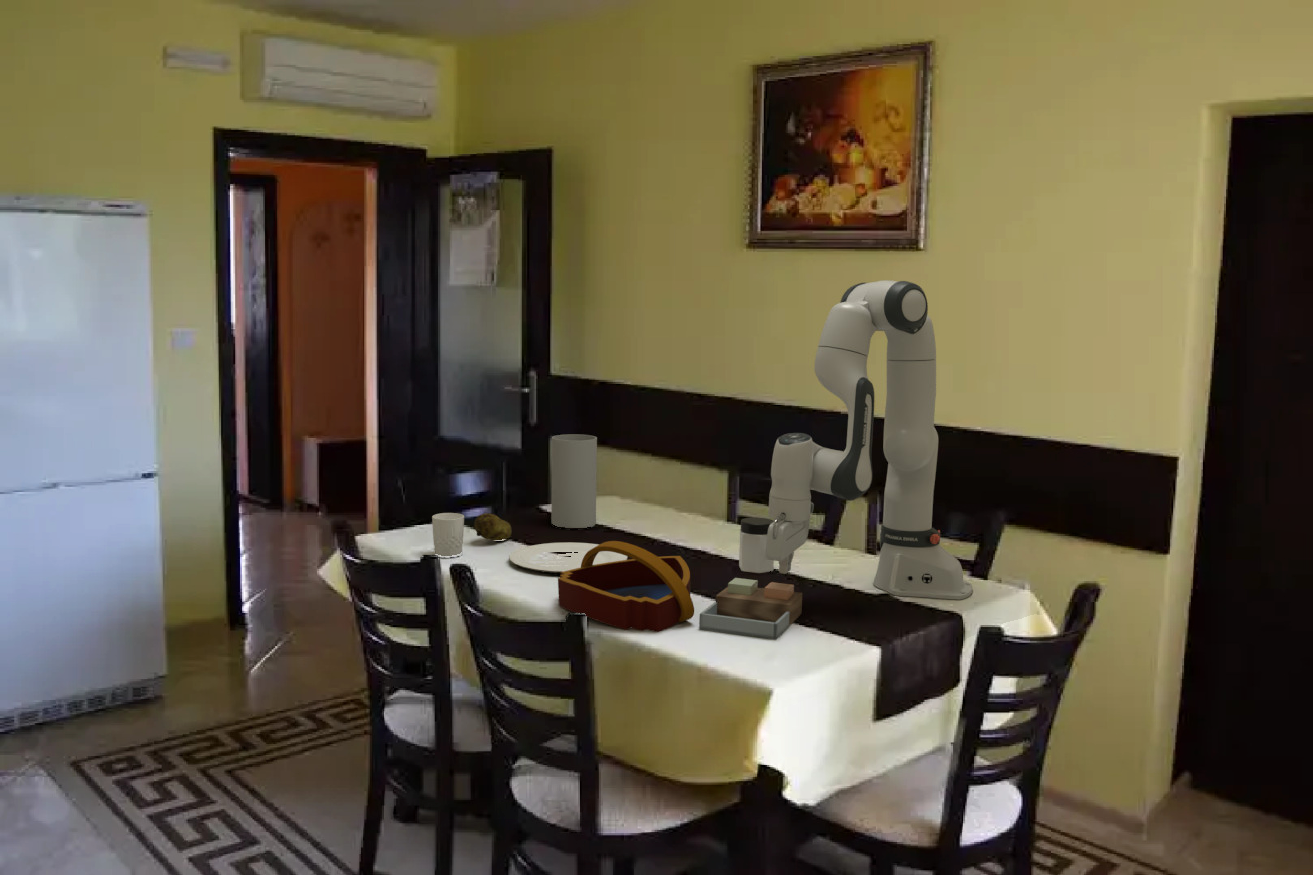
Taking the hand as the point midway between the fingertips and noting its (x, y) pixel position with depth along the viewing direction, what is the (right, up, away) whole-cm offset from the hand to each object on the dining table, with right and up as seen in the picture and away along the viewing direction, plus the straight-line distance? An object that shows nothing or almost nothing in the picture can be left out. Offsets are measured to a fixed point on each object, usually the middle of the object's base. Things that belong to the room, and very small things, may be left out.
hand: (784, 571), depth 256 cm
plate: (-49, -2, +37) cm, 62 cm away
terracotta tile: (-2, -4, -6) cm, 8 cm away
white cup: (-80, -1, +41) cm, 90 cm away
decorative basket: (-33, -8, -1) cm, 34 cm away
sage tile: (-9, -4, -3) cm, 11 cm away
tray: (-10, -10, -14) cm, 20 cm away
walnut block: (-6, -9, -5) cm, 12 cm away
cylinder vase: (-51, +4, +78) cm, 93 cm away
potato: (-70, +1, +57) cm, 91 cm away
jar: (-3, -3, +34) cm, 34 cm away
